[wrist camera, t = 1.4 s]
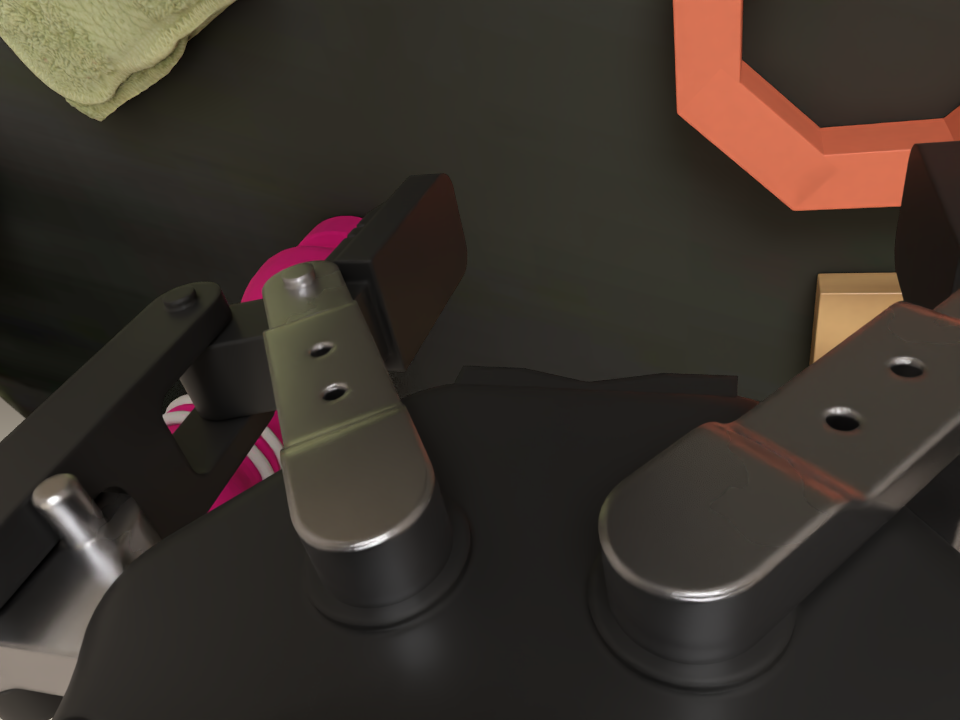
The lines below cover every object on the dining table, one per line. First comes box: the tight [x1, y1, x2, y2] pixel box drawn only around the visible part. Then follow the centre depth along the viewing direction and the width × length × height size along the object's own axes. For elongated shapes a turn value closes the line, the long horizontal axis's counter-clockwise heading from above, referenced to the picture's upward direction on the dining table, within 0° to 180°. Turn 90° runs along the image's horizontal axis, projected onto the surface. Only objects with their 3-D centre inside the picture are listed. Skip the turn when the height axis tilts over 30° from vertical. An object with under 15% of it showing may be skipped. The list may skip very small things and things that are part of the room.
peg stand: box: [809, 273, 904, 366], centre depth 25 cm, size 9×9×12 cm
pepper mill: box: [163, 216, 362, 512], centre depth 28 cm, size 7×7×20 cm
